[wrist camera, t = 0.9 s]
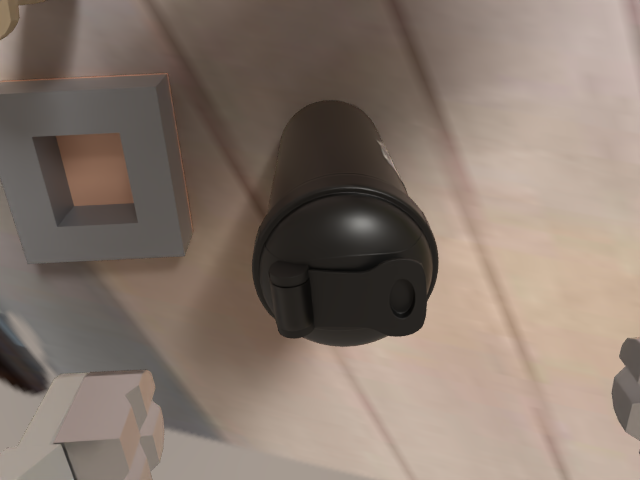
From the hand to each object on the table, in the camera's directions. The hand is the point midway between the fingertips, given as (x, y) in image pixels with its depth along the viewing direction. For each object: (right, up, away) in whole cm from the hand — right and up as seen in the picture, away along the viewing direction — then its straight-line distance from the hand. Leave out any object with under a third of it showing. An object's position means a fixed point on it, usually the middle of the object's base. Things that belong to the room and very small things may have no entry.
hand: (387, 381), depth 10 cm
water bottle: (0, +10, +39) cm, 41 cm away
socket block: (-19, +9, +39) cm, 45 cm away
